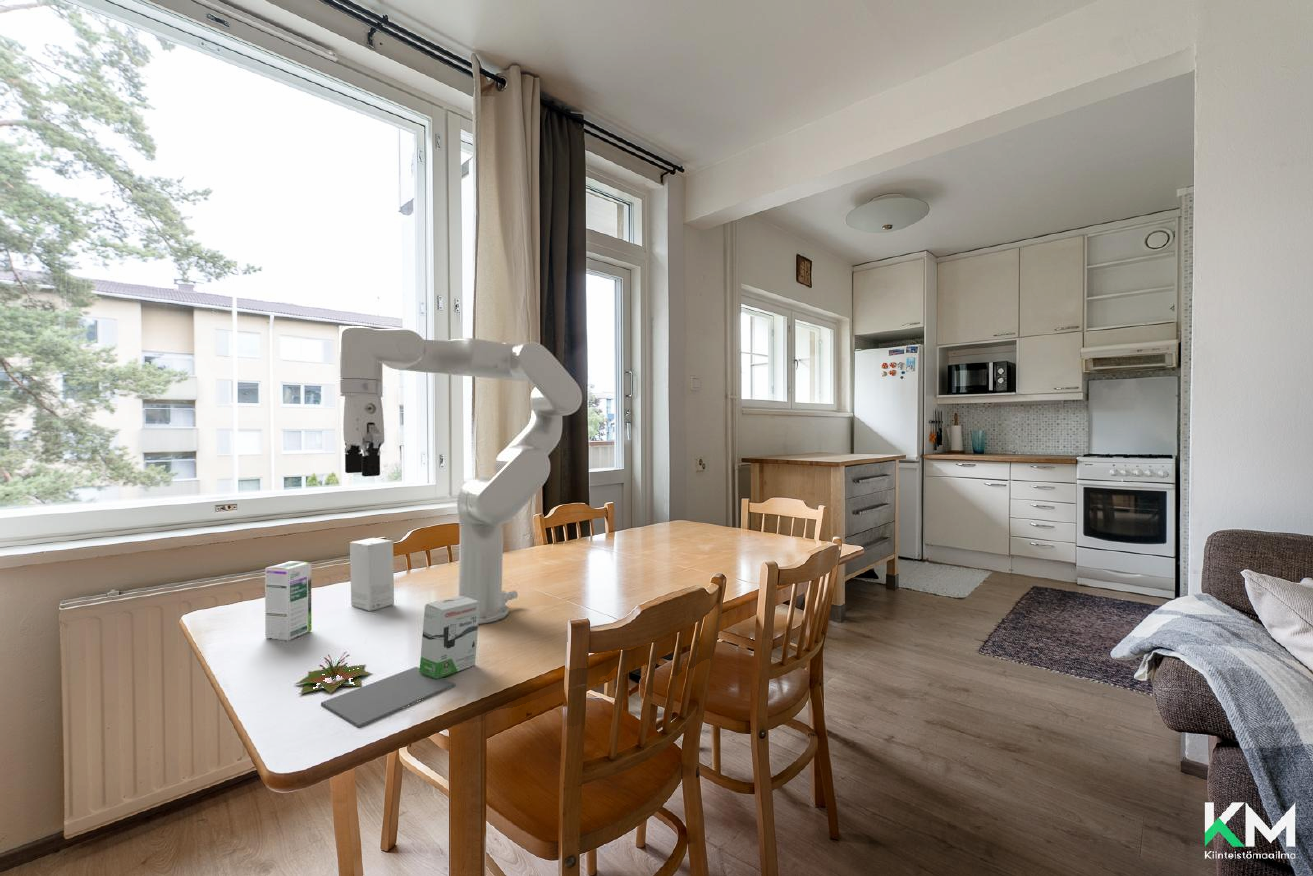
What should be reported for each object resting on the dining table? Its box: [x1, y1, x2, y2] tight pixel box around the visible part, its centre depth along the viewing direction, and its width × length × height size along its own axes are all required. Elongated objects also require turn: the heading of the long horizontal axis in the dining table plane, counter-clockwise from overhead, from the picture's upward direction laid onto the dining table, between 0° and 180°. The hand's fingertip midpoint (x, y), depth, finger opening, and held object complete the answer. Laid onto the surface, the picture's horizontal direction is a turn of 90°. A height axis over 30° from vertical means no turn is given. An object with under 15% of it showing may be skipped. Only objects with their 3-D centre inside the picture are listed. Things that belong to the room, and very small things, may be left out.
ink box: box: [419, 595, 480, 679], centre depth 98 cm, size 9×5×12 cm, turn 148°
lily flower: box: [293, 651, 373, 695], centre depth 93 cm, size 12×12×5 cm
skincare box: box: [349, 537, 395, 612], centre depth 132 cm, size 8×7×16 cm
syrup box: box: [264, 560, 312, 642], centre depth 113 cm, size 6×6×14 cm
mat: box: [320, 666, 456, 728], centre depth 89 cm, size 16×11×1 cm
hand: (362, 474), depth 111 cm, fingers open, 9 cm apart
